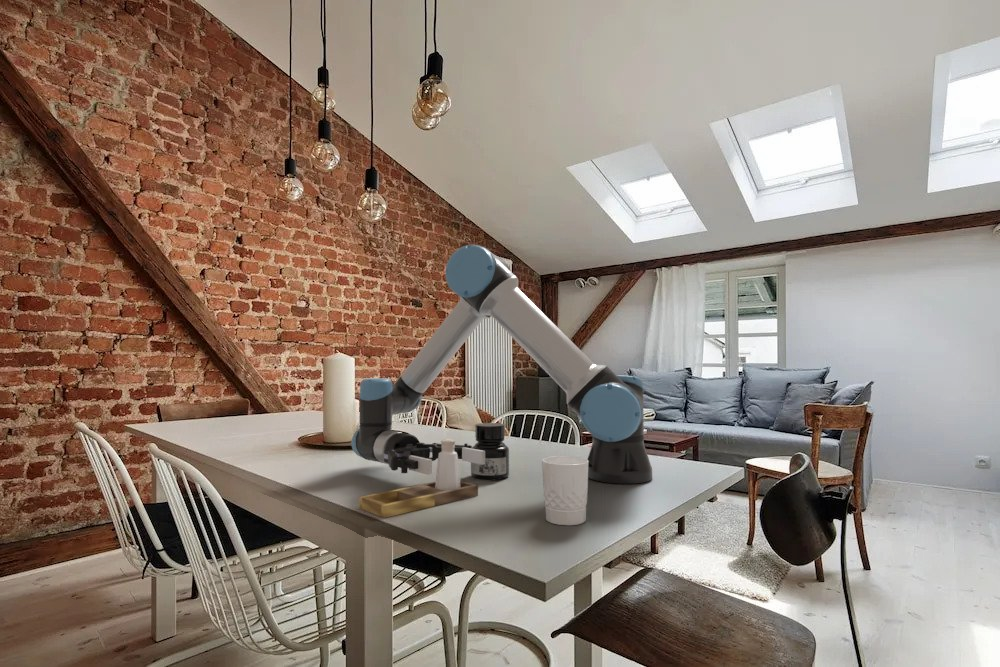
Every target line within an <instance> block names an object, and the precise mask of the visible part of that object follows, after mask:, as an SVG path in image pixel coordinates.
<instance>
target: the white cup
mask: <svg viewBox="0 0 1000 667" xmlns="http://www.w3.org/2000/svg"><path fill="white" fill-rule="evenodd" d="M587 459H588V458H584V457H580V456H579V457H578V456H572V455H571V456H570V455H556V456H555V455H554V456H547V457H544V458H542V459H541V466H542V467H541V470H542V486H543V499H544V500H543V502H544V506H545V507H544V508H545V520H546V521H547V522H549V523H551V524H554V525H558V526H577V525H581V524H584V523H585V522H586V520H587V504H588V493H589V492H588V490H589V478H588V465H589V461H588V460H587Z"/></svg>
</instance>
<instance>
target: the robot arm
mask: <svg viewBox="0 0 1000 667" xmlns="http://www.w3.org/2000/svg"><path fill="white" fill-rule="evenodd" d="M445 280H446V283H447V286H448V287H449V289H450V290H451V291H452V292H453V294H456V295H457V296H458V297H459V301H458V302H457V304H455V306H454V308H453V309H452V310H451V311H450V313H449V314H448V315H447V316H446V318H444V320H443V322H441V324H440V325H439V327H438V328H437V329H436V330H435V331H434V333H433V334H432V336H431V337H430V338H429V339H428V340H427V342H426V343H425V344H424V346H423V347H422V348H421V349H420V350H419V352H418V353H417V354H416V356H414V358H413V360H411V362H410V363H409V365H408V366H406V367H407V368H405V369H404V371H403V372H402V374H401V375H400V376H399V377H398V379H397V380H396V381H395V383H392V382H393V381H392V380H391V379H390V378H386V377H385V378H381V377H379V378H377V377H376V378H364V379H362V380H361V382H360V385H359V393H358V394H359V395H358V398H359V425H358V429H357V430H356V431H355V432H354V433H353V436H352V438H351V449H352V451H353V453H354V454H355V455H356V456H358V457H360V458H363V459H365V460H367V461H372V462H377V463H380V464H385V465H388V467H389V468H390V470H392V471H395V472H396V471H398V469H399V468H400V471H401V472H400V473H401V474H408V470H409V471H413V472H416V473H420V474H424V475H428V476H430V475H433V462H435V461H436V460H438V455H439V453H440V452H442V448H441V445H442V444H441V443H438V442H437V443H436V442H434V443H433V442H432V443H425V442H420V441H419V438H417V437H416V436H415V435H413V434H411V433H405V432H402V431H396V430H395V431H394V430H392V428H393V427H392V425H393V416H394V415H398V414H406V413H410V412H412V411H414V410H416V409H417V408H418V407H419V406H420V405H421V402H422V396H423V395H424V393H425V392H426V391H427V389H428V388H429V387H430V386H431V384H433V383H434V381H435V379H437V377H438V376H439V374H440V373H441V372H442V371H443V370H444V368H445V367H446V366H447V365H448V364H449V362H450V361H451V360H452V359H453V357H454V356H455V355H456V353H457V352H458V351H459V350H460V349H461V347H462V346H463V345H464V343H466V342H467V340H468V339H469V337H471V335H472V334H473V333H474V331H475V330H476V329H477V327H479V325H480V324H481V323H482V321H483V320H487V319H490V318H491V317H492V318H493V319H494V320H495V321H496V322H497V324H499V326H501V328H502V329H503V330H505V331H506V333H507V334H508V335H509V336H510V337H511V338H512V339H513V340H514V341H515V342H516V343H517V344H518V345H519V346H520V347H521V348H522V349H523V350H524V351H525V352H526V353H527V354H528V356H530V357H531V359H532V360H534V361H535V362H536V363H537V364H538V365H539V367H540V368H541V369H542V370H544V371H545V373H546V374H547V375H549V377H550V378H551V379H552V380H553V381H554V382H555V383H556V384H557V385H558V386H559V387H560V388H561V389H562V390H563V391H564V392H565V394H566V404H567V405H568V406H569V408H571V410H572V411H573V412H574V413H575V414H576V415H577V416H578V417H579V418H580V420H581V422H582V425H583V426H584V428H585V430H586V431H587V432H588V433H589V434H590V435H591V436H592V444H591V446H590V450H589V453H588V457H587V458H586V459H587V460H588V461H589V465H588V479H590V480H593V481H597V482H601V483H606V484H607V483H609V484H623V485H625V484H627V485H629V484H640V483H641V484H642V483H647V482H650V481H651V480H653V466H652V465H651V462H650V458H649V455H648V452H647V449H646V447H645V442H644V441H645V437H644V435H645V430H644V429H645V428H644V427H645V426H644V423H645V422H644V392H645V388H644V383H643V382H644V381H643V380H642V379H641V378H640V377H638V376H634V375H633V376H631V375H623V374H622V375H620V374H618V375H617V374H616V373H615V372H613V371H612V370H611V369H610V367H608V366H607V364H596V363H594V362H593V361H592V360H591V359H590V357H588V356H587V355H586V354H585V353H584V352H583V351H582V350H581V349H580V348H579V347H578V346H577V345H576V344H575V343H574V342H573V341H572V340H571V339H570V338H569V337H568V336H567V335H566V334H565V333H564V332H563V331H562V330H561V329H560V328H559V327H558V326H557V325H556V324H555V323H554V322H553V321H552V320H551V319H550V318H549V317H548V316H547V315H546V314H545V313H544V312H543V311H542V310H541V309H540V308H538V306H537V305H535V303H534V302H533V301H532V300H531V299H530V298H528V296H527V295H526V294H525V293H524V292H522V290H520V288H519V278H518V277H517V276H516V275H515V274H514V273H513V272H512V270H511V268H510V266H509V265H508V263H507V262H506V261H505V260H504V259H502V258H501V257H499V256H498V255H496V254H495V253H493V252H491V251H490V250H489V249H488V248H486V247H484V246H482V245H477V244H467V245H464V246H461V247H459V248H458V249H456V250H455V251H454V252H453V253H452V254H451V255H450V257H449V259H448V260H447V263H446V267H445ZM454 445H455V448H454V451H455V452H456V453H457V455H458V460H461V461H463V462H468V463H471V462H472V463H476V464H481V465H484V464H485V451H482V450H477V449H472V447H473V446H472V445H470V444H468V443H464V444H454ZM431 455H432V456H431Z"/></svg>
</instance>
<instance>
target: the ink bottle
mask: <svg viewBox="0 0 1000 667" xmlns="http://www.w3.org/2000/svg"><path fill="white" fill-rule="evenodd" d="M474 427H475V434H474V435H475V436H474V437H475V441H476V443H475V444H474V445H473V446H472V449H477V450H482V451H485V464H484V465H481V464H476V463H472V462H470V476H471V478H473V479H476V480H482V481H483V480H485V481H495V480H503V479H506V478H508V477H509V476H510V450H509V447H508V445H506V443H505V442H504V441H505V437H506V436H505V432H506V431H505V428H506V426H505V424H504V423H499V422H497V423H496V422H482V423H476V424H475V426H474Z"/></svg>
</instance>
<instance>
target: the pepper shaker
mask: <svg viewBox="0 0 1000 667" xmlns="http://www.w3.org/2000/svg"><path fill="white" fill-rule="evenodd" d="M455 443H456V441H455V439H452V438H446V439H441V441H440V444H442V445H441V448H442V452H440V453H439V455H438V459H437V466H436V474H435V482H436V483H435V488H437V489H440V490H444V491H447V490H452V489H456V488H461V485H460V481H461V478H460V465H459V459H458V455H457V453H456V452H455V451H454V448H455V445H456V444H455Z"/></svg>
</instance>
